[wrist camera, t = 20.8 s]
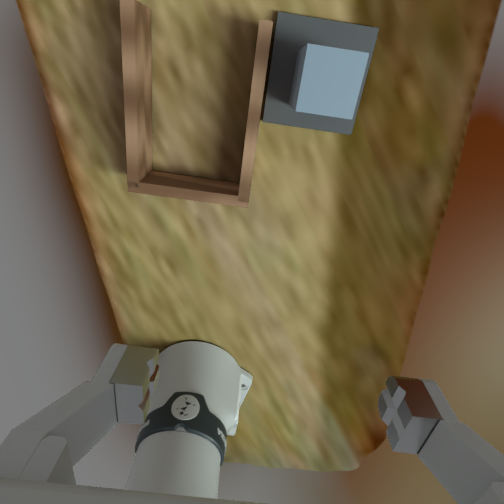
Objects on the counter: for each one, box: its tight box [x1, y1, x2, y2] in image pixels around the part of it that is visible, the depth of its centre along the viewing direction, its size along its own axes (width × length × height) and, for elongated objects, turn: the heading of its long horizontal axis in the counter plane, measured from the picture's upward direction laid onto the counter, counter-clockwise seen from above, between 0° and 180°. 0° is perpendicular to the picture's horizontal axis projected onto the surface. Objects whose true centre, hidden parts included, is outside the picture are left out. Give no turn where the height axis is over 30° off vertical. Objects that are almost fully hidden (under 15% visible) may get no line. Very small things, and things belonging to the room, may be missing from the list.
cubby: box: [120, 0, 273, 208], centre depth 34 cm, size 17×13×5 cm
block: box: [289, 43, 369, 120], centre depth 31 cm, size 5×5×8 cm
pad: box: [263, 12, 379, 135], centre depth 34 cm, size 10×10×1 cm
